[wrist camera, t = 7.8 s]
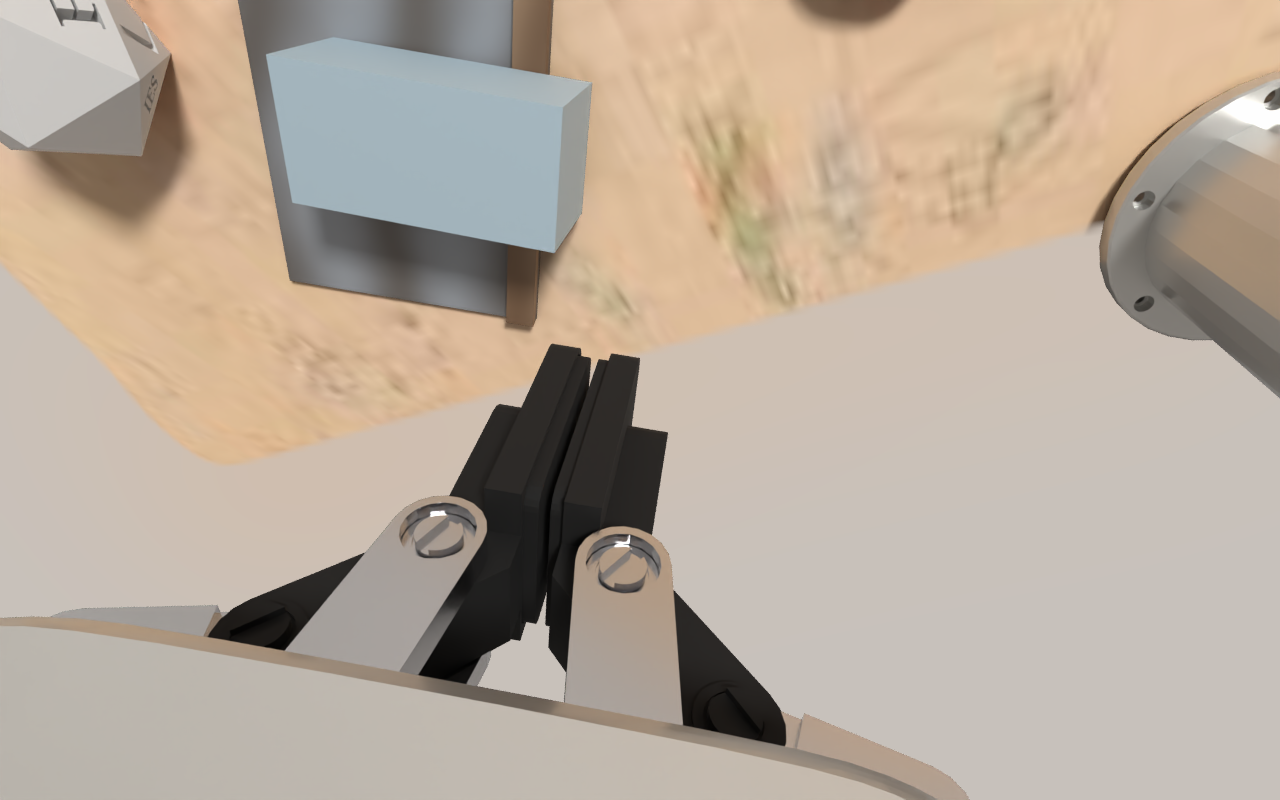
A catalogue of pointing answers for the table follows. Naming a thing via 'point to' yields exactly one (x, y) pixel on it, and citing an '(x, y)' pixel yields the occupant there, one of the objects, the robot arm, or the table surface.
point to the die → (77, 76)
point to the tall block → (432, 140)
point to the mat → (382, 250)
